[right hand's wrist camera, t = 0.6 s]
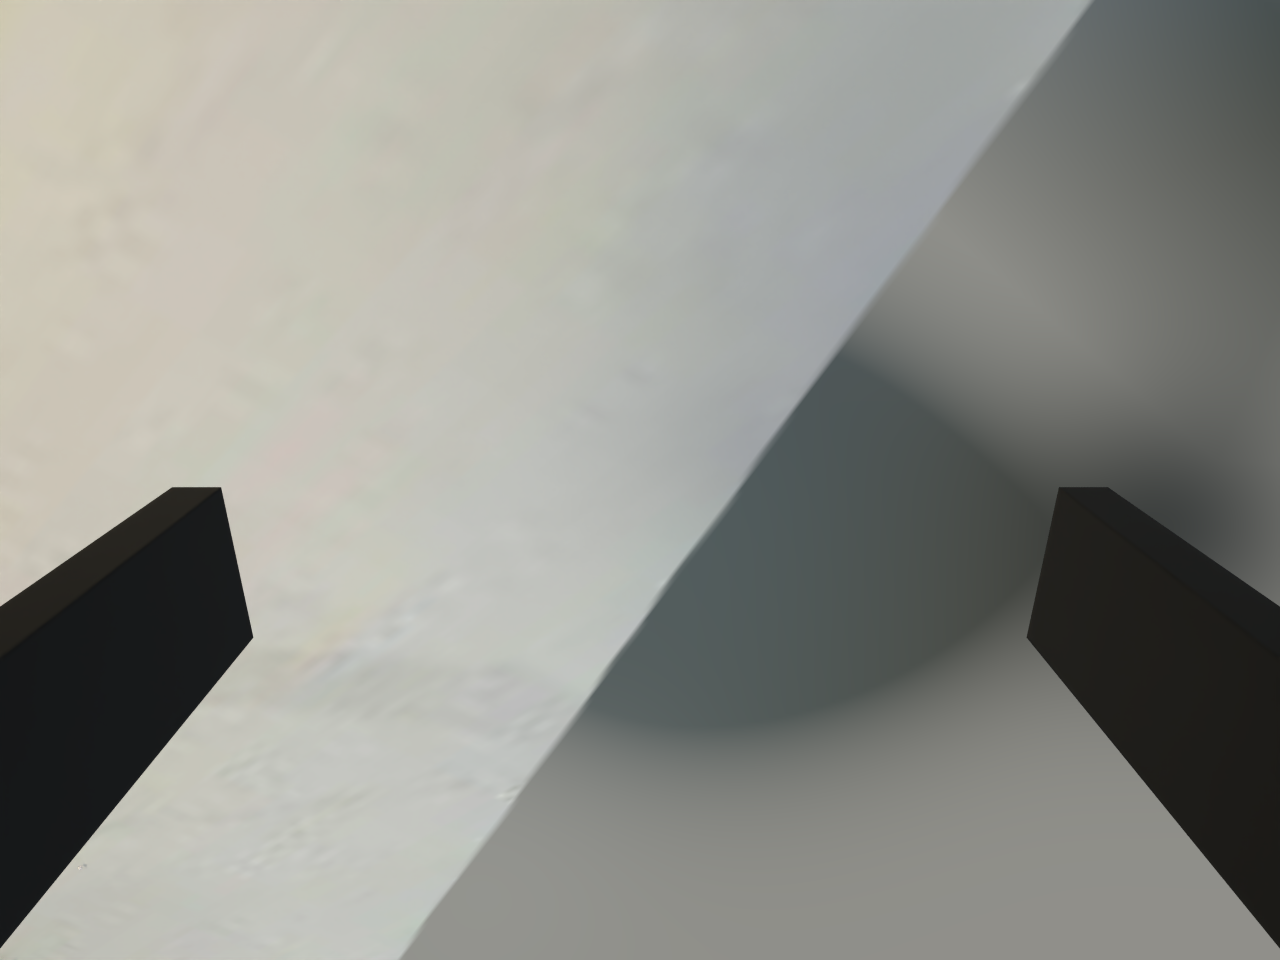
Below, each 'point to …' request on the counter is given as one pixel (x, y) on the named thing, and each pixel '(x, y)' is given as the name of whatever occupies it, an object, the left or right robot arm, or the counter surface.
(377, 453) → the counter surface
